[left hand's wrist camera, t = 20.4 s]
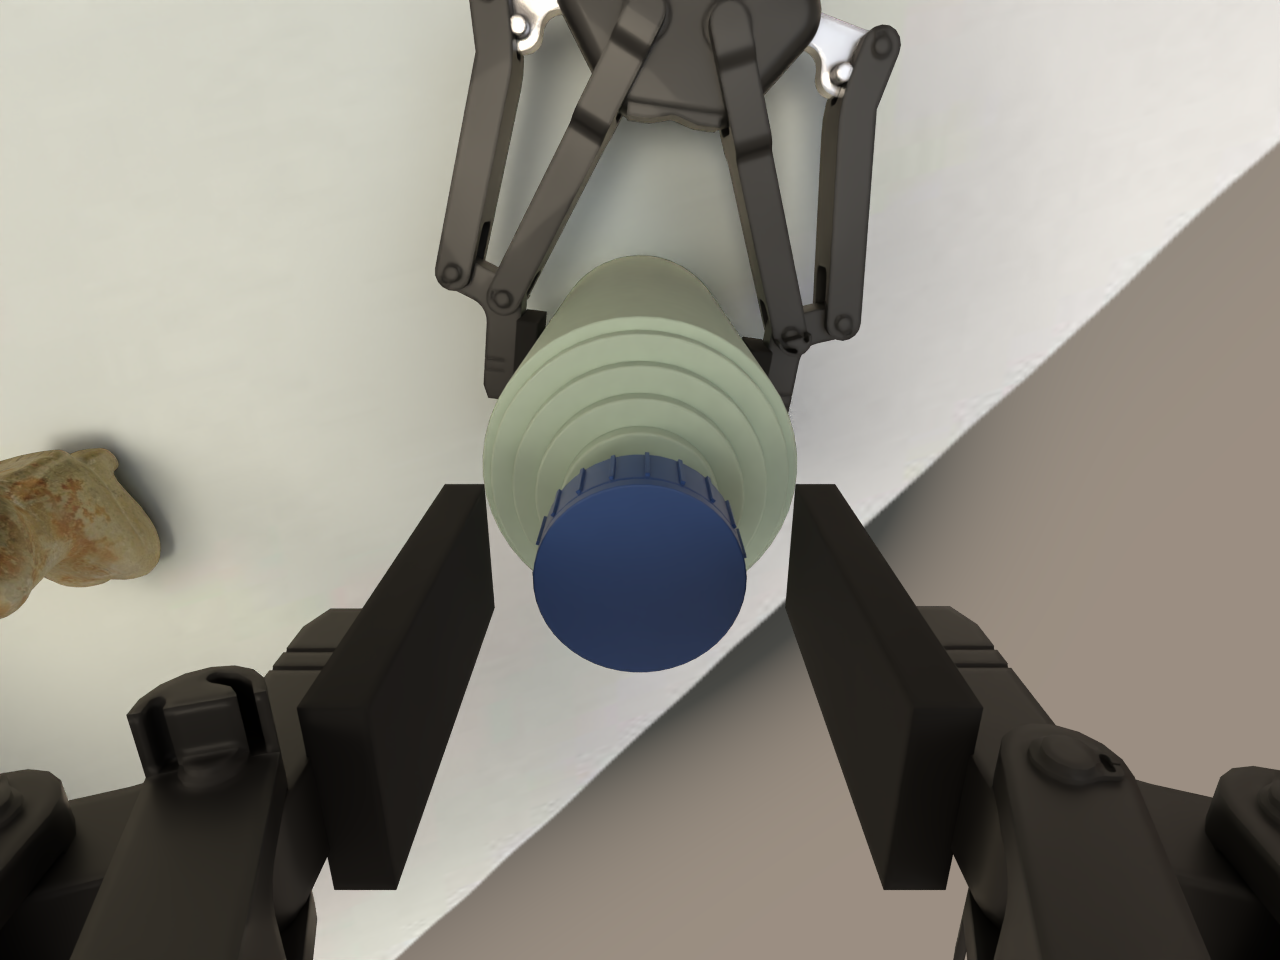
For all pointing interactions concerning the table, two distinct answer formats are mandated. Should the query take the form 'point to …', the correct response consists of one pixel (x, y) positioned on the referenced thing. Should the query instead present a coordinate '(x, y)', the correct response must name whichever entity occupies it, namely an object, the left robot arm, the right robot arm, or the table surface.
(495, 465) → the bottle
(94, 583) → the sculpture
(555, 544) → the cap
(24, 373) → the table surface
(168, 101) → the table surface
